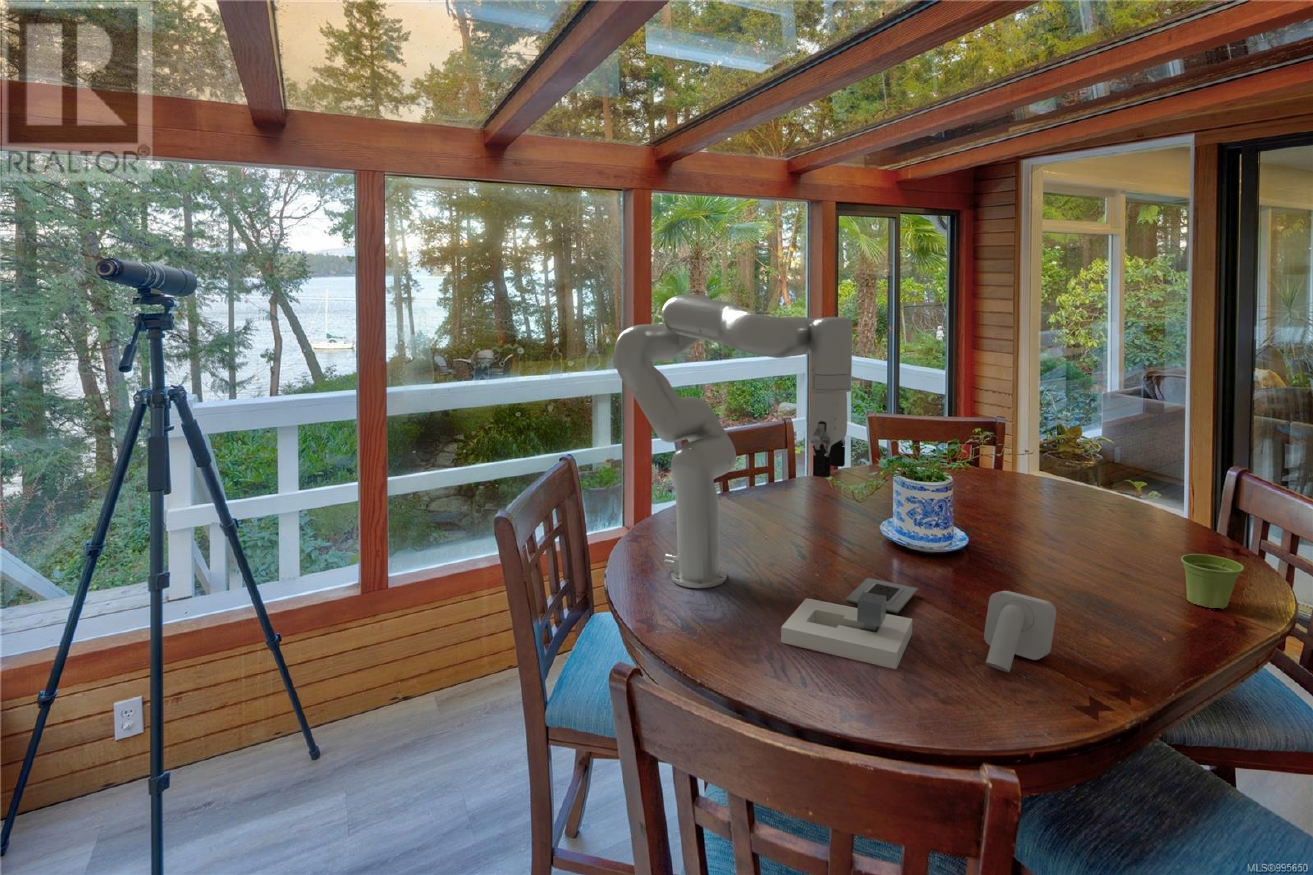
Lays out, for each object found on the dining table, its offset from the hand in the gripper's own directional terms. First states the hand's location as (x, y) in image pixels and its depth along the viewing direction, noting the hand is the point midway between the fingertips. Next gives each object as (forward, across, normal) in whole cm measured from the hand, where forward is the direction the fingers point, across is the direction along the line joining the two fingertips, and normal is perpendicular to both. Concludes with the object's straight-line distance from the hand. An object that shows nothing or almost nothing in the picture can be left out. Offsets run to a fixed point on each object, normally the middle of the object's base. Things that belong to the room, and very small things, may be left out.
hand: (829, 471), depth 129 cm
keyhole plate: (+28, +11, +7) cm, 31 cm away
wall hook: (+29, +6, +33) cm, 44 cm away
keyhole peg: (+28, +11, +11) cm, 32 cm away
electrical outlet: (+29, -8, +9) cm, 31 cm away
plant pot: (+28, -35, +65) cm, 79 cm away
